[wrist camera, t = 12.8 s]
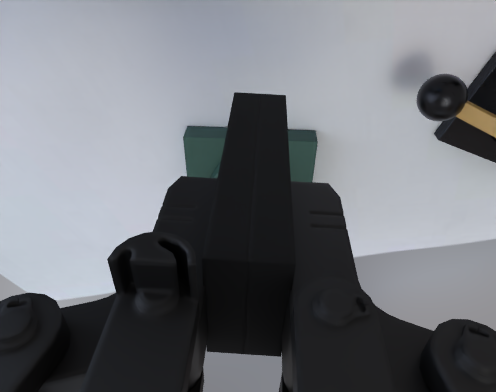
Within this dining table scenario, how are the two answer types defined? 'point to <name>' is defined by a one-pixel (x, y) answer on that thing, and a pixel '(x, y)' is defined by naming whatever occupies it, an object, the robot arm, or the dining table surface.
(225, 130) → the block
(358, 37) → the dining table surface
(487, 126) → the tap lever
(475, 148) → the lever stand
